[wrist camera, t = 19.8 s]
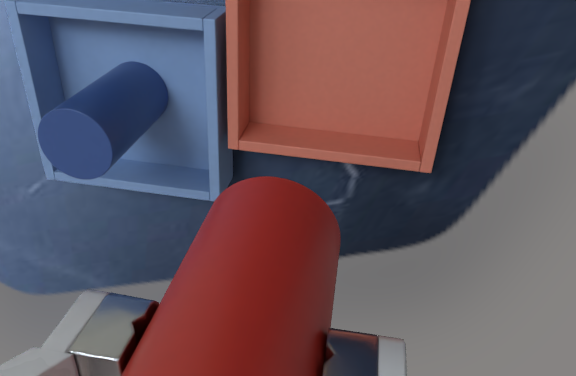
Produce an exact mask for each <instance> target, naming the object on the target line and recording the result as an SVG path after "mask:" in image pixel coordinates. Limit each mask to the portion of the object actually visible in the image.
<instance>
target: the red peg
mask: <svg viewBox="0 0 576 376" xmlns="http://www.w3.org/2000/svg"><path fill="white" fill-rule="evenodd" d="M339 250H340V230H339V226H338V222H337V220H336V218H335V216H334V214H333V212H332V211H331V209H330V208H329V206H328V205H327V204H326V203H325V202H324V201H323V200H322V199H321V198H320V197H319V196H318V195H317V194H316V193H314V192H313V191H311V190H310V189H308V188H307V187H305V186H303V185H301V184H299V183H296V182H294V181H291V180H287V179H283V178H278V177H255V178H249V179H246V180H242V181H240V182H237V183H235V184H233V185H231V186H230V187H228V188H227V189H225V190H224V191H223V192H222V193H221V194H220V195H219V196H218V197H217V199H216V200H215V202H214V203H213V205H212V207H211V209H210V211H209V212H208V214H207V216H206V218H205V220H204V222H203V224H202V225H201V227H200V229H199V231H198V233H197V235H196V237H195V239H194V240H193V242H192V244H191V246H190V248H189V250H188V252H187V254H186V255H185V257H184V259H183V261H182V263H181V265H180V267H179V269H178V270H177V272H176V274H175V276H174V278H173V280H172V282H171V284H170V285H169V287H168V289H167V291H166V293H165V295H164V297H163V299H162V301H161V302H160V304H159V306H158V308H157V310H156V312H155V314H154V315H153V317H152V319H151V321H150V323H149V325H148V327H147V329H146V330H145V332H144V334H143V336H142V338H141V340H140V342H139V343H138V345H137V347H136V349H135V351H134V353H133V355H132V357H131V358H130V360H129V362H128V364H127V366H126V368H125V370H124V372H123V373H122V375H121V376H322V374H323V367H324V357H325V349H326V342H327V335H328V328H330V327H331V318H332V310H333V301H334V293H335V284H336V276H337V267H338V259H339Z"/></svg>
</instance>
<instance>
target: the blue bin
mask: <svg viewBox="0 0 576 376" xmlns="http://www.w3.org/2000/svg"><path fill="white" fill-rule="evenodd" d="M4 4H5V8H6V12H7V16H8V20H9V25H10V29H11V33H12V37H13V41H14V46H15V50H16V54H17V58H18V62H19V67H20V71H21V75H22V79H23V83H24V87H25V92H26V96H27V100H28V104H29V108H30V113H31V117H32V121H33V125H34V129H35V134H36V138H37V142H38V146H39V150H40V155H41V159H42V163H43V167H44V171H45V176H46V179H49V180H57V181H65V182H73V183H80V184H88V185H95V186H103V187H110V188H118V189H125V190H133V191H140V192H148V193H155V194H163V195H170V196H178V197H185V198H193V199H200V200H208V201H209V200H210V201H215V200H216V199H217V197H218V196H219V195H220V194H221V193H222V192H223V191H224V190H225V189H227V187H228V185H229V183H230V181H231V179H232V177H233V149H228V119H227V55H226V6H217V5H205V4H194V3H183V2H171V1H160V0H4ZM129 61H134V62H140V63H143V64H145V65H148V66H149V67H151V68H152V69H154V70H155V71H156V72H157V73H158V74H159V75H160V76H161V78H162V79H163V81H164V83H165V85H166V87H167V90H168V105H167V108H166V110H165V112H164V113H163V114H162V115H161V116H160V117H159V118H158V120H157V121H156V122H155V123H154V124H153V125H152V126H151V127H150V128H149V129H148V130H147V131H146V132H145V133H144V134H143V135H142V136H141V137H140V138H139V139H138V140H137V141H136V142H135V143H134V144H133V145H132V146H131V147H130V148H129V149H128V150H127V152H126V153H125V154H124V155H123V156H122V157H121V158H120V159H119V160H118V161H117V162H116V163H115V164H114V165H113V166H112V167H111V168H110V169H109V170H108V171H107V172H106V173H105V174H104V175H102V176H100V177H98V178H95V179H89V180H84V179H77V178H74V177H71V176H69V175H67V174H65V173H63V172H61V171H60V170H58V169H57V168H56V167H55V166H54V165H53V164H52V163H51V162H50V161H49V160H48V159H47V158H46V156H45V155H44V153H43V151H42V149H41V147H40V144H39V141H38V127H39V123H40V121H41V119H42V118H43V117H44V115H46V114H47V113H48V112H50V111H51V110H53V109H54V108H56V107H57V106H58V105H60V104H61V103H63V102H64V101H66V100H67V99H69V98H70V97H72V96H73V95H75V94H76V93H78V92H79V91H81V90H82V89H84V88H85V87H87V86H88V85H90V84H91V83H93V82H94V81H96V80H97V79H99V78H100V77H101V76H103V75H104V74H106V73H107V72H109V71H110V70H112V69H113V68H115V67H116V66H118V65H119V64H121V63H124V62H129Z"/></svg>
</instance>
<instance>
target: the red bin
mask: <svg viewBox="0 0 576 376" xmlns="http://www.w3.org/2000/svg"><path fill="white" fill-rule="evenodd" d="M470 2H471V0H226V55H227V119H228V149H235V150H238V149H239V150H244V151H252V152H260V153H268V154H277V155H285V156H293V157H302V158H310V159H318V160H327V161H335V162H343V163H352V164H360V165H368V166H377V167H385V168H393V169H401V170H410V171H420V172H425V173H431V172H432V167H433V163H434V159H435V154H436V150H437V146H438V141H439V137H440V133H441V128H442V124H443V119H444V115H445V111H446V106H447V102H448V98H449V93H450V89H451V85H452V80H453V76H454V72H455V67H456V63H457V59H458V54H459V50H460V46H461V41H462V37H463V33H464V28H465V24H466V20H467V15H468V11H469V7H470Z"/></svg>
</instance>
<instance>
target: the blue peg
mask: <svg viewBox="0 0 576 376" xmlns="http://www.w3.org/2000/svg"><path fill="white" fill-rule="evenodd" d="M167 105H168V90H167V87H166V85H165V83H164V81H163V79H162V78H161V76H160V75H159V74H158V73H157V72H156V71H155V70H154V69H152V68H151V67H149V66H148V65H145V64H143V63H140V62H134V61H129V62H124V63H121V64H119V65H118V66H116V67H115V68H113V69H112V70H110V71H109V72H107V73H106V74H104V75H103V76H101V77H100V78H99V79H97V80H96V81H94V82H93V83H91V84H90V85H88V86H87V87H85V88H84V89H82V90H81V91H79V92H78V93H76V94H75V95H73V96H72V97H70V98H69V99H67V100H66V101H64V102H63V103H61V104H60V105H58V106H57V107H56V108H54V109H53V110H51V111H50V112H48V113H47V114H46V115H44V117H43V118H42V119H41V121H40V123H39V127H38V141H39V144H40V147H41V149H42V151H43V153H44V155H45V156H46V158H47V159H48V160H49V161H50V162H51V163H52V164H53V165H54V166H55V167H56V168H57V169H58V170H60V171H61V172H63V173H65V174H67V175H69V176H71V177H74V178H77V179H84V180H89V179H95V178H98V177H100V176H102V175H104V174H105V173H106V172H107V171H108V170H109V169H110V168H111V167H112V166H113V165H114V164H115V163H116V162H117V161H118V160H119V159H120V158H121V157H122V156H123V155H124V154H125V153H126V152H127V150H128V149H129V148H130V147H131V146H132V145H133V144H134V143H135V142H136V141H137V140H138V139H139V138H140V137H141V136H142V135H143V134H144V133H145V132H146V131H147V130H148V129H149V128H150V127H151V126H152V125H153V124H154V123H155V122H156V121H157V120H158V118H159V117H160V116H161V115H162V114H163V113H164V112H165V110H166V108H167Z"/></svg>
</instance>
